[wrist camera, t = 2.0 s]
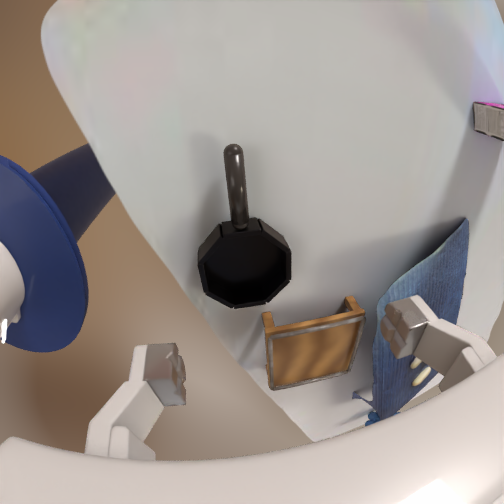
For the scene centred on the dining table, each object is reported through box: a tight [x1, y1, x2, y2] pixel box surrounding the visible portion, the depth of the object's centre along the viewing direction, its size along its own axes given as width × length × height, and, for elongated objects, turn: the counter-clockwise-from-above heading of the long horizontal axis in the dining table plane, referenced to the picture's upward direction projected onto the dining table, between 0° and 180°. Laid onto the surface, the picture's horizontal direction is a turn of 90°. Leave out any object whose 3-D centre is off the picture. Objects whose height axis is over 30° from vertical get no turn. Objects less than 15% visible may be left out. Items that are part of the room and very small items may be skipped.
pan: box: [198, 144, 291, 309], centre depth 29 cm, size 10×19×3 cm, turn 5°
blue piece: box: [352, 218, 469, 421], centre depth 47 cm, size 45×27×12 cm, turn 21°
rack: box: [262, 296, 366, 391], centre depth 40 cm, size 14×14×5 cm
